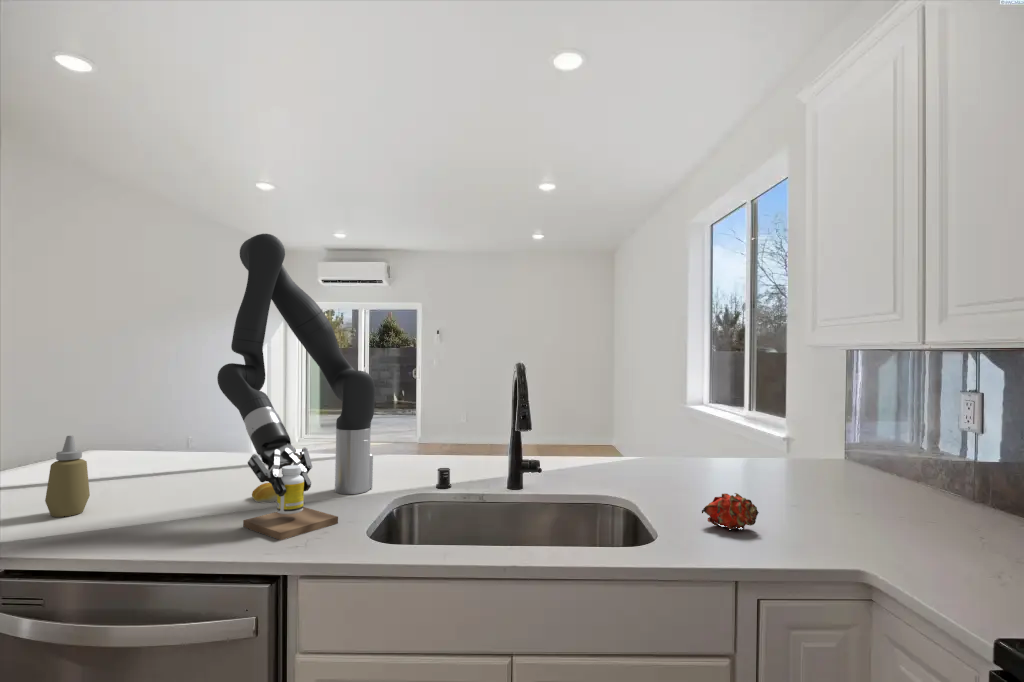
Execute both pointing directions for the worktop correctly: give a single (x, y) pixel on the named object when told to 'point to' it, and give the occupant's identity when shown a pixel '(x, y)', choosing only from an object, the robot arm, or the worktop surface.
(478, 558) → the worktop surface
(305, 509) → the walnut board
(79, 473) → the squeeze bottle
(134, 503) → the worktop surface
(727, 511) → the dragon fruit
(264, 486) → the bread roll
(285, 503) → the supplement bottle
